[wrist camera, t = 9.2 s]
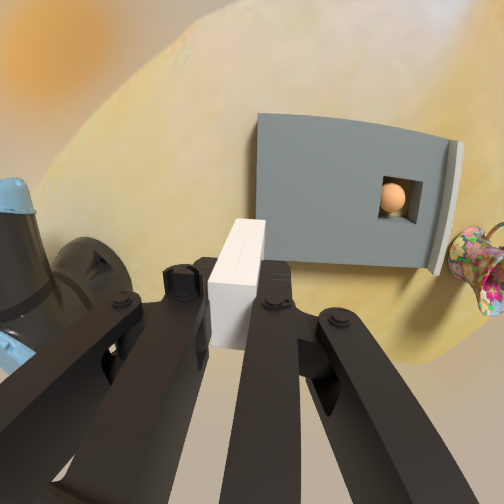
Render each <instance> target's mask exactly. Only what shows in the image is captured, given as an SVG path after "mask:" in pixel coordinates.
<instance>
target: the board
mask: <svg viewBox="0 0 504 504" xmlns="http://www.w3.org/2000/svg"><path fill="white" fill-rule="evenodd" d="M463 150H464V143H463V142H460V141H455V140H449V139H445V138H441V137H437V136H433V135H429V134H425V133H421V132H416V131H412V130H407V129H402V128H397V127H392V126H386V125H380V124H374V123H368V122H361V121H354V120H347V119H338V118H329V117H319V116H307V115H291V114H267V113H258V130H257V181H256V220H266V224H265V243H264V260H280V261H298V262H316V263H334V264H352V265H371V266H390V267H410V268H427V269H428V270H429V271H430V272H431V273H432V275H436V276H439V274H440V271H441V267H442V264H443V260H444V257H445V253H446V249H447V245H448V241H449V237H450V233H451V228H452V224H453V219H454V214H455V209H456V203H457V197H458V191H459V185H460V177H461V169H462V160H463ZM383 176H389V177H396V178H403V179H410V180H413V182H412V190H411V197H410V203H409V210H408V216H407V217H399V216H389V215H379V207H380V200H381V192H382V183H383Z"/></svg>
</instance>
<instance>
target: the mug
mask: <svg viewBox="0 0 504 504" xmlns="http://www.w3.org/2000/svg"><path fill="white" fill-rule="evenodd" d="M502 226H504V222H502V223H499V224H497V225H496V226H495V227H493V228H492V229H491V231H490V232H489V233H488V235H487V234H486V232H484V231H483V230H482V229H480V228H476V227H472V228H468V229H466V230H464V231H463V232H462V233H460V234H459V235H458V236H457V238H456V239H455V240H454V242H453V244H452V246H451V248H450V252H449V256H448V266H449V269H450V272H451V273H452V275H453V276H454V277H455V278H457V279H460V280H465V281H466V282H467V283H469V284H470V286H471V287H472V289H473V290H474V292H475V295H476V298H477V302H478V307H479V309H480V311H481V312H482V314H484V315H486V316H496V315H498V314H501V313H502V312H504V247H501V246H499V248H500V249H499V248H497V247H496V246H494V245H493V244H492V243H491V242H490V241H489V238H490V237H491V236H492V234H493V233H494V232H495V231H496V230H497V229H498V228H500V227H502Z"/></svg>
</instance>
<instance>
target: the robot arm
mask: <svg viewBox="0 0 504 504" xmlns="http://www.w3.org/2000/svg"><path fill="white" fill-rule="evenodd" d="M35 214H36V210H34V208H33V204H32V200H31V197H30V193H29V189H28V186H27V184H26V183H25V181H24V180H22V179H21V178H15V177H13V178H5V179H0V367H1V368H2V369H3V370H4V371H5V372H6V373H7V374H8V375H9V377H7V378H6V379H5V380H4V381H3V382H2V383H1V384H0V504H168V501H169V497H170V493H171V490H172V486H173V482H174V478H175V475H176V471H177V468H178V464H179V460H180V457H181V453H182V449H183V445H184V442H185V438H186V435H187V431H188V428H189V424H190V421H191V417H192V414H193V410H194V407H195V403H196V400H197V396H198V392H199V389H200V386H201V382H202V379H203V375H204V371H205V368H206V365H207V361H208V358H209V349H208V345H209V341H210V338H211V346H212V347H216V348H226V349H237V350H245V353H244V359H243V366H242V371H241V377H240V384H239V389H238V395H237V401H236V407H235V413H234V419H233V425H232V431H231V437H230V443H229V448H228V454H227V460H226V465H225V471H224V477H223V483H222V488H221V494H220V499H219V504H301V429H300V428H301V423H300V390H299V389H300V388H299V375H301V376H304V377H305V378H306V383H307V386H308V388H309V391H310V393H311V396H312V398H313V401H314V404H315V406H316V409H317V411H318V414H319V417H320V419H321V421H322V424H323V427H324V429H325V432H326V434H327V437H328V440H329V442H330V445H331V447H332V450H333V453H334V455H335V458H336V460H337V463H338V466H339V468H340V471H341V474H342V476H343V479H344V481H345V484H346V486H347V489H348V492H349V494H350V497H351V500H352V502H353V504H479V502H478V500H477V499H476V497H475V495H474V493H473V491H472V490H471V488H470V486H469V484H468V482H467V480H466V479H465V477H464V475H463V473H462V472H461V470H460V468H459V467H458V465H457V463H456V461H455V460H454V458H453V457H452V455H451V453H450V451H449V450H448V448H447V447H446V445H445V443H444V442H443V440H442V438H441V437H440V435H439V433H438V432H437V430H436V429H435V427H434V426H433V424H432V422H431V421H430V419H429V418H428V416H427V415H426V413H425V412H424V410H423V408H422V407H421V405H420V404H419V403H418V401H417V399H416V398H415V396H414V395H413V393H412V392H411V390H410V389H409V387H408V386H407V384H406V383H405V381H404V380H403V379H402V377H401V376H400V374H399V373H398V371H397V370H396V368H395V367H394V365H393V364H392V363H391V361H390V360H389V358H388V357H387V355H386V354H385V353H384V351H383V350H382V348H381V347H380V345H379V344H378V343H377V341H376V340H375V338H374V337H373V336H372V334H371V333H370V332H369V330H368V329H367V327H366V326H365V325H364V323H363V322H362V321H361V319H360V318H359V317H358V316H357V315H356V314H355V313H354V312H352V311H350V310H348V309H344V308H335V307H332V308H328V309H325V310H323V311H322V312H320V314H319V316H318V317H317V316H313V315H310V314H307V313H304V312H302V311H300V310H299V309H298V308H296V307H295V303H294V301H293V300H292V287H291V272H290V267H289V266H288V264H287V263H286V262H285V261H269V260H264V243H265V224H266V220H255V219H236V221H235V223H234V225H233V227H232V229H231V232H230V234H229V236H228V238H227V240H226V242H225V245H224V247H223V249H222V251H221V253H220V256H219V258H212V257H202V258H200V259H198V260H197V261H195V262H194V264H193V265H190V264H179V265H174V266H171V267H169V268H166V269H165V270H164V271H163V280H164V288H165V296H164V297H163V299H162V300H161V301H160V302H151V303H142V301H141V297H140V296H139V294H137V293H135V292H132V283H131V280H130V277H129V274H128V272H127V269H126V268H125V266H124V264H123V263H122V261H121V260H120V258H119V257H118V256H117V255H116V254H115V252H114V251H113V250H111V249H110V248H109V247H108V246H107V245H105V244H104V243H102V242H100V241H98V240H96V239H93V238H89V237H80V238H76V239H74V240H73V241H71V242H70V243H68V244H67V245H65V246H64V247H63V248H62V249H61V250H60V252H59V254H58V256H57V257H56V259H55V260H54V262H53V263H52V265H51V267H50V265H49V262H48V259H47V256H46V253H45V250H44V247H43V243H42V240H41V236H40V232H39V229H38V225H37V221H36V217H35ZM113 344H115V346H116V350H115V351H114V352H112V353H110V351H109V348H110V346H112V345H113ZM75 453H76V454H75ZM74 455H75V456H74ZM73 456H74V458H73V460H72V462H71V464H70V466H69V468H68V470H67V472H66V474H65V476H64V477H63V478H62V479H61V480H60V481H56V482H51V481H52V480H53V479H54V478H55V477H56V476H57V474H58V473H59V472H60V471H61V470H62V469H63V467H64V466H65V465H66V464H67V463H68V461H69V460H70V459H71V458H72V457H73Z"/></svg>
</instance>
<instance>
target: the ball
mask: <svg viewBox="0 0 504 504" xmlns="http://www.w3.org/2000/svg"><path fill="white" fill-rule="evenodd" d="M404 203H405V194H404V191H403V189H402V188H401V187H400V186H399V185H398V184H396V183H392V182H389V183H385V184H383V185H382V192H381V200H380V207H381V208H382V209H383V210H385V211H387V212H396V211H398V210H400V209H401V208H402V207H403V205H404Z"/></svg>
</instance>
